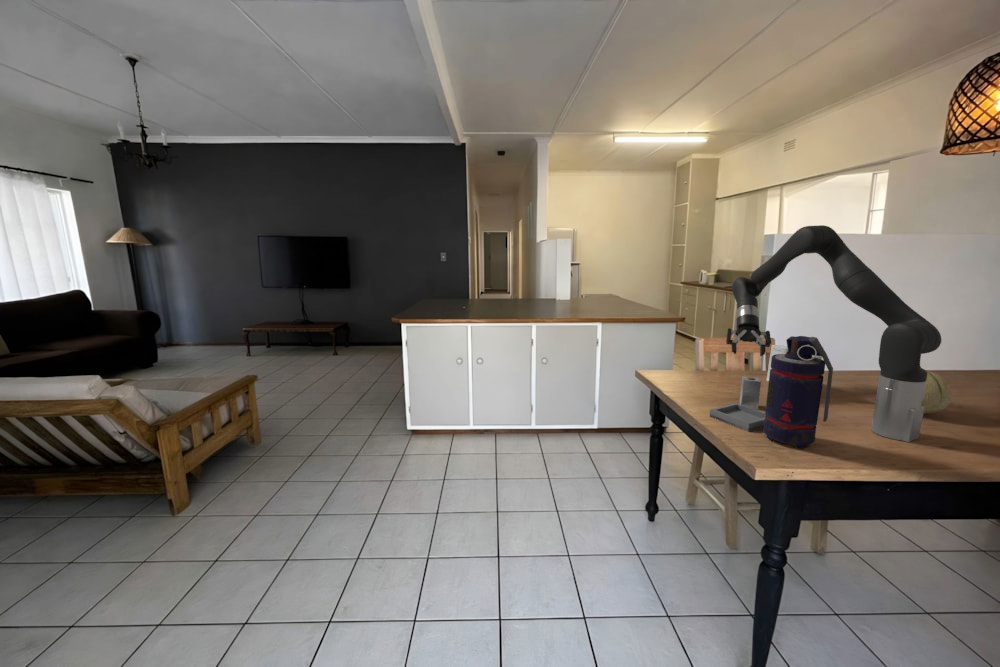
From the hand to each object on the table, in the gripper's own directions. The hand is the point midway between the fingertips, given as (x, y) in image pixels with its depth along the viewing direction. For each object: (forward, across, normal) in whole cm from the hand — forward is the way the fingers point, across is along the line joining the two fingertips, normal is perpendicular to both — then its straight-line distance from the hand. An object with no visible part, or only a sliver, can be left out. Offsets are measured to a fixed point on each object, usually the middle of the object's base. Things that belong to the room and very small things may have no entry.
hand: (748, 353), depth 145 cm
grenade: (+39, +8, -16) cm, 42 cm away
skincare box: (0, +18, +24) cm, 29 cm away
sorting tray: (+31, -4, -8) cm, 32 cm away
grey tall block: (+20, 0, +3) cm, 20 cm away
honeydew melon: (+9, +49, +14) cm, 52 cm away
